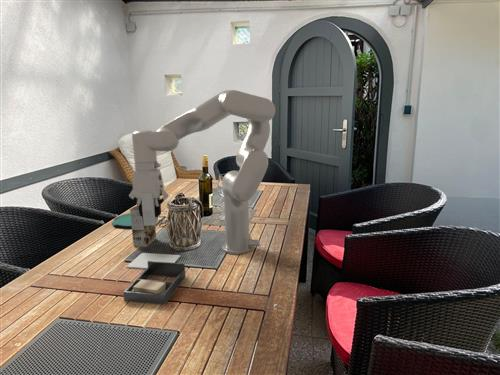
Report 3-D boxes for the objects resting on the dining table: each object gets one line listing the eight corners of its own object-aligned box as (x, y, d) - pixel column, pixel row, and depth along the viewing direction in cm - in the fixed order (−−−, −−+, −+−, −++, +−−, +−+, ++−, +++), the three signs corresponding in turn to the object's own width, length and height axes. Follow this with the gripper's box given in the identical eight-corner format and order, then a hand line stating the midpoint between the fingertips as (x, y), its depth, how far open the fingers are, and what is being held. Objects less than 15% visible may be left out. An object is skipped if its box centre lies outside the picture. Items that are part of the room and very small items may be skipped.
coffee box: (147, 247, 151) (143, 209, 147) (133, 246, 152) (129, 209, 148) (157, 238, 160) (154, 203, 156) (143, 238, 161) (140, 202, 157)
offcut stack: (167, 294, 115) (166, 282, 114) (160, 303, 111) (158, 290, 110) (140, 291, 118) (139, 279, 117) (132, 298, 113) (130, 286, 112)
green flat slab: (124, 215, 193) (124, 211, 192) (180, 217, 189) (179, 213, 188) (105, 229, 174) (105, 224, 173) (166, 232, 170) (166, 227, 169)
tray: (185, 276, 126) (184, 263, 124) (165, 304, 109) (163, 289, 108) (149, 274, 128) (148, 261, 127) (124, 300, 112) (122, 285, 111)
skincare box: (146, 220, 136) (144, 189, 133) (158, 219, 137) (156, 188, 134) (143, 226, 131) (140, 193, 128) (155, 225, 131) (153, 193, 128)
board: (180, 256, 142) (180, 255, 142) (168, 270, 130) (168, 269, 130) (142, 253, 145) (142, 252, 145) (126, 267, 133) (126, 266, 133)
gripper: (173, 164, 131) (176, 213, 135) (128, 163, 134) (133, 211, 138) (164, 168, 123) (168, 220, 128) (118, 167, 126) (123, 217, 131)
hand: (150, 215), depth 133 cm, fingers closed on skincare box, 5 cm apart
